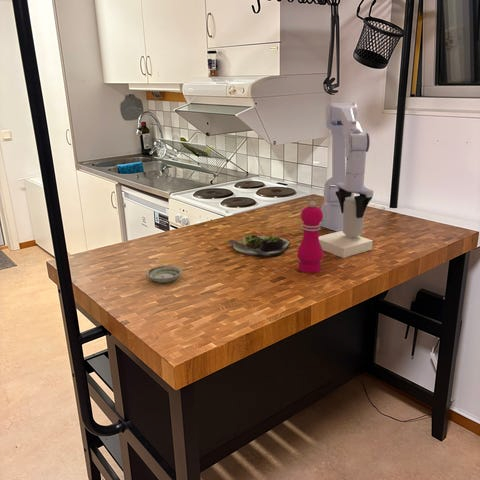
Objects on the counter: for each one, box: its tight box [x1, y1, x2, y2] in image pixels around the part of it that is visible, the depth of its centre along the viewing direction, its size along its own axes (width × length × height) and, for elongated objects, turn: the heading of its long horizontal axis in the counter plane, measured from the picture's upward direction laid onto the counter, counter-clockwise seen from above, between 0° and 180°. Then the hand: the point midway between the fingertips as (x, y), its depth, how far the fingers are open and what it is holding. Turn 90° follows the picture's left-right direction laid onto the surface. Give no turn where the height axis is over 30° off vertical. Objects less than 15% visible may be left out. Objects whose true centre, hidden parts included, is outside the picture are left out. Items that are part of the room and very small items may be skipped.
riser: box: [318, 230, 373, 259], centre depth 152 cm, size 13×13×3 cm
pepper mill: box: [296, 200, 324, 274], centre depth 132 cm, size 7×7×20 cm
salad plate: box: [227, 234, 291, 258], centre depth 153 cm, size 19×18×5 cm
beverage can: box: [342, 197, 365, 237], centre depth 151 cm, size 6×6×12 cm
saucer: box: [145, 265, 183, 284], centre depth 129 cm, size 10×10×2 cm
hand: (352, 215), depth 151 cm, fingers closed on beverage can, 6 cm apart
